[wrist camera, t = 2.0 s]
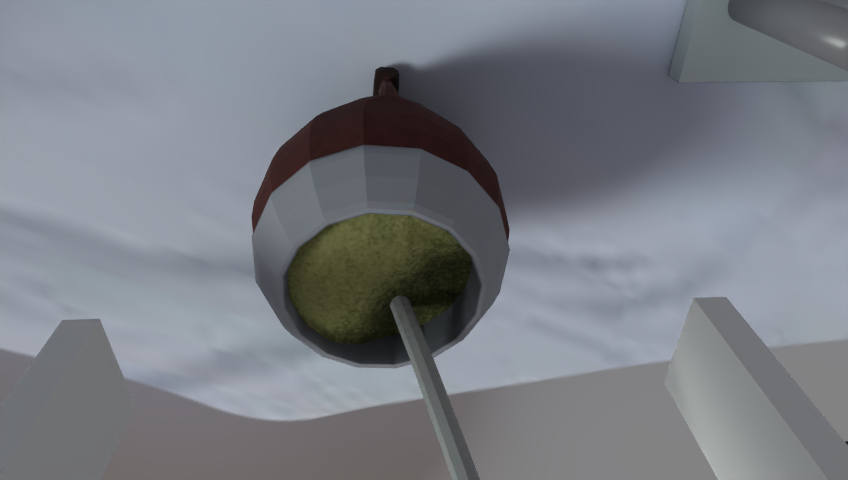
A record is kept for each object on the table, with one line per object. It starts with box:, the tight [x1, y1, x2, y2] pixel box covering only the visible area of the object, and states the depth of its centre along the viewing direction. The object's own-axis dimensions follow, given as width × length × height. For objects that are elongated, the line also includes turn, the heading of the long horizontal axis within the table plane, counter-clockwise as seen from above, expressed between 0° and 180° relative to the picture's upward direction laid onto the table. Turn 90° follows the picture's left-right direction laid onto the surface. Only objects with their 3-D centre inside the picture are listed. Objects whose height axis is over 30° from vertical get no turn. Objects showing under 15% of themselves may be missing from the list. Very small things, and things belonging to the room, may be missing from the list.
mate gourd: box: [252, 67, 510, 480], centre depth 14 cm, size 8×8×15 cm
